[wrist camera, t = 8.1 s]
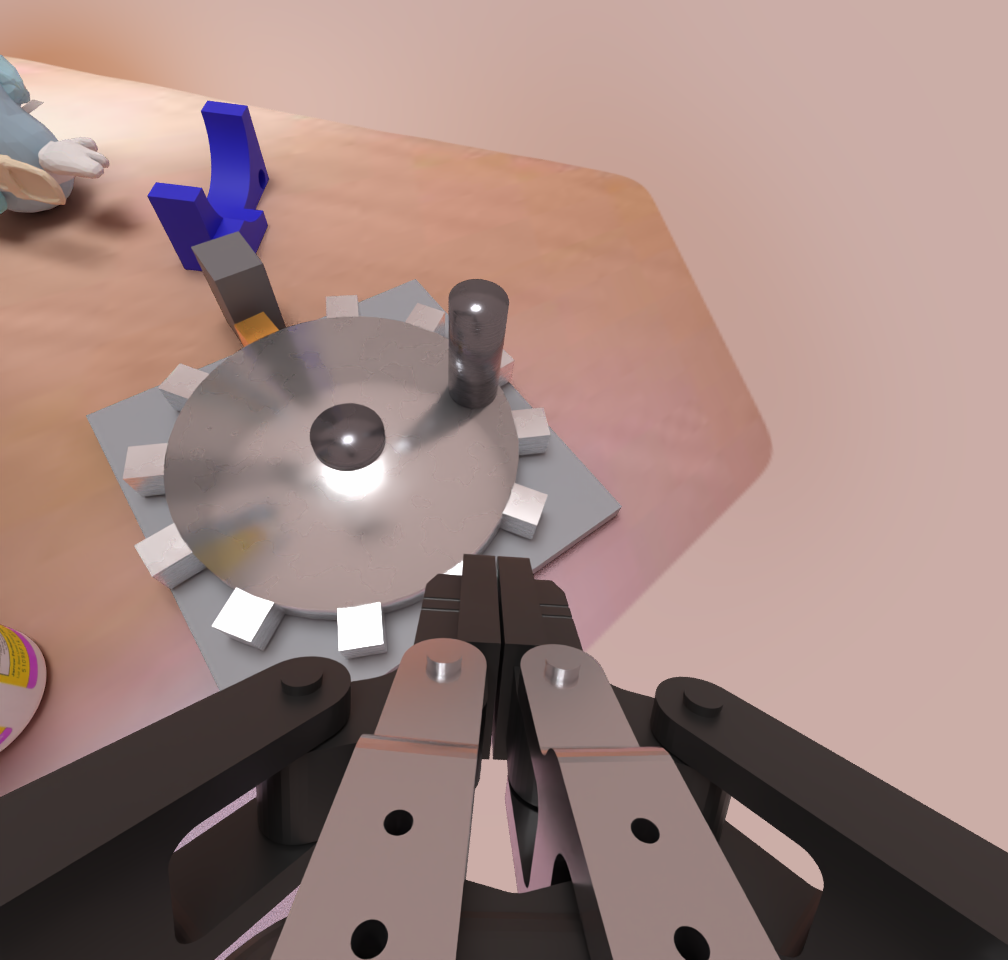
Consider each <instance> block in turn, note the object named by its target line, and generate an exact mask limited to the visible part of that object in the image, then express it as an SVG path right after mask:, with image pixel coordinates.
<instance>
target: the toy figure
mask: <svg viewBox="0 0 1008 960" xmlns="http://www.w3.org/2000/svg"><path fill="white" fill-rule="evenodd" d="M29 101H30V94H29V92H28V91H27V89H26V87H25V86H24V84H23V80H22V79H21V77H20V75H19V73H18V72H17V70H16V68H15V67H14V66H13V65H11V64H10V63H9V62H8V61H7V60H6V59H5V58H4V57H3V56H2V55H0V214H1V213H3V212H4V211H5V210H7V209H8V210H11V211H15V212H33V213H34V212H39V211H44V210H50V209H52V208H54V207H56V206H58V205H65V203H66V199H67V198H68V197H69V196H70V194H71V191H72V189H73V185H74V177H75V176H79V177H86V178H99V177H100V176H101V175H102V174H104V169H103V168H108V167H109V161H108V159H107V158H106V157H105V156H104V155H102V154H100V153H98V152H97V150H98V148H97V145H96V143H95V141H93V140H92V139H91V138H84V137H79V138H73V139H67V140H62V141H58V140H57V139H56V137H55V136H54V135H53V133H52V132H51V131H50V130H49V129H48V128H46V127H45V126H44V125H43V124H42V123H41V122H39V121H38V120H37V119H35V118H34V117H33V116H31V115H30V114H29V113H30V112H32V111H33V110H34V109H36V108H37V107H38V106H40V105H41V104H43V103H44V102H40V101H36V100H32V101H30V102H29ZM28 102H29V103H28ZM23 103H27V104H26V105H24V106H23V107H22V108H21V107H20V106H21V104H23Z"/></svg>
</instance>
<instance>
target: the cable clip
mask: <svg viewBox="0 0 1008 960" xmlns="http://www.w3.org/2000/svg"><path fill="white" fill-rule="evenodd" d="M201 113H202V116H203V119H204V122H205V126H206V130H207V134H208V139H209V145H210V152H211V183H210V189H209V194H208V197H207V198H206V196H205V194H204V191H203V189H202V188H198V187H190V186H182V185H174V184H165V183H157V182H156V183H155V185H154V186H153V188H152V189H151V191H150V193H149V194H148V198H149V200H150V202H151V204H152V206H153V208H154V210H155V212H156V214H157V216H158V218H159V220H160V222H161V223H162V225H163V227H164V229H165V231H166V233H167V235H168V237H169V239H170V241H171V243H172V245H173V247H174V249H175V251H176V253H177V255H178V257H179V259H180V261H181V262H182V264H183V266H184V268H185V269H187V270H196V271H202V269H201V267H200V265H199V263H198V261H197V258H196V256H195V254H194V252H193V250H192V248H191V247H192V246H195V245H198V244H201V243H204V242H207V241H210V240H213V239H216V238H219V237H222V236H225V235H228V234H231V233H234V232H237V231H239V232H240V234H241V235H242V236H243V238H244V239H245V240H246V242H247V243H248V244H249V246H250V247H251V248H252V250H253V251H254V252H255V254H256V252H257V250H258V247H259V245H260V243H261V240H262V238H263V236H264V233H265V231H266V229H267V226H268V224H267V221H266V218H265V215H264V212H263V211H261V210H255V209H256V207H257V205H258V202H259V200H260V198H261V196H262V194H263V191H264V189H265V187H266V185H267V183H268V180H269V177H268V174H267V170H266V167H265V164H264V160H263V157H262V154H261V150H260V147H259V143H258V140H257V137H256V133H255V130H254V127H253V123H252V120H251V116H250V113H249V110H248V106H245V105H237V104H229V103H222V102H214V101H207V102H206V104H205V105H204V107H203V108H202V110H201Z"/></svg>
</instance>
